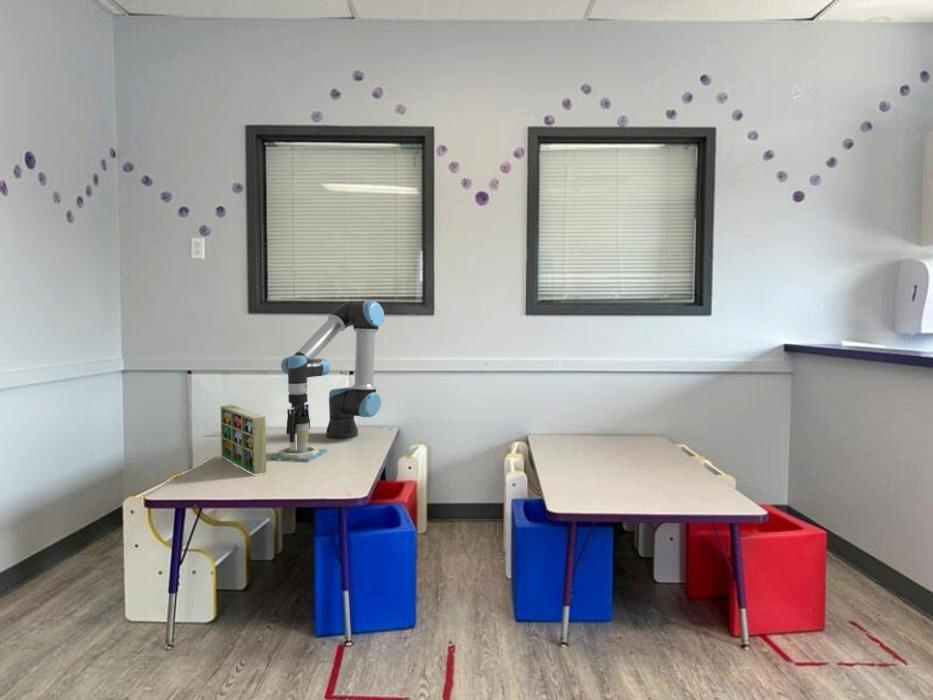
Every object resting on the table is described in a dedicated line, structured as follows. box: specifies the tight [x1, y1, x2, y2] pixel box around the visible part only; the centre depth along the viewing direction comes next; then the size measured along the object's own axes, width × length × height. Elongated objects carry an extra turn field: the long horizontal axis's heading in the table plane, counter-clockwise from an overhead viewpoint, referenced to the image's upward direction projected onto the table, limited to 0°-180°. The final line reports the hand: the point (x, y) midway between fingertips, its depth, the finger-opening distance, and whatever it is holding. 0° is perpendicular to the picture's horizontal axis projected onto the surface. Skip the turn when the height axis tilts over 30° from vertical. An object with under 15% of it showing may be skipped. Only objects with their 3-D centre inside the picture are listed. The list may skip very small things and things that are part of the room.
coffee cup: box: [288, 416, 311, 454], centre depth 246 cm, size 9×9×15 cm
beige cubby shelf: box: [220, 404, 267, 474], centre depth 230 cm, size 35×5×22 cm, turn 41°
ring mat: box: [269, 445, 328, 463], centre depth 246 cm, size 17×17×2 cm
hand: (299, 447), depth 246 cm, fingers open, 9 cm apart
